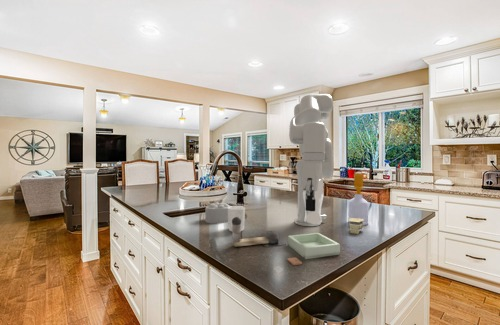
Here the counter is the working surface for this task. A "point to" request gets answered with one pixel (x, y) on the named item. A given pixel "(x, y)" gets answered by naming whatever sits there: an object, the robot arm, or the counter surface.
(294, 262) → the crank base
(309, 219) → the beer glass
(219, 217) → the grey bumpy block
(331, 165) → the robot arm
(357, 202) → the soap bottle
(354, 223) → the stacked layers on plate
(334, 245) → the tray
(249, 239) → the crank lever
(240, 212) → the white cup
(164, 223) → the counter surface
